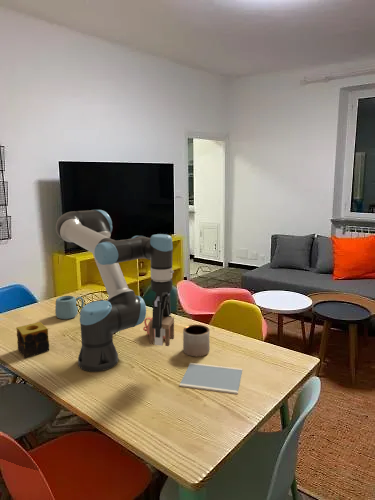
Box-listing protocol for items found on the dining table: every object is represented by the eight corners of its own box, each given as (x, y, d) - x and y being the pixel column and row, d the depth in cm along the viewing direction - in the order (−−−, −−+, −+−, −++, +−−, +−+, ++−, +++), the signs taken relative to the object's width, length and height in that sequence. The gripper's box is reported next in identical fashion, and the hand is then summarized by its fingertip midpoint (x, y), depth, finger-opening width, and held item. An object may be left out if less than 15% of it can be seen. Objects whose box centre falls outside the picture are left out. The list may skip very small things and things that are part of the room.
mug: (79, 309, 204) (78, 291, 202) (88, 315, 196) (87, 296, 194) (52, 316, 195) (51, 297, 193) (60, 322, 186) (59, 303, 184)
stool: (149, 344, 134) (149, 322, 132) (155, 335, 140) (155, 315, 138) (168, 346, 132) (168, 324, 130) (174, 337, 139) (174, 317, 137)
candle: (24, 358, 150) (22, 335, 148) (17, 349, 157) (14, 327, 155) (50, 351, 156) (48, 328, 154) (41, 343, 164) (40, 321, 162)
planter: (207, 358, 149) (207, 336, 147) (180, 356, 151) (180, 333, 149) (211, 346, 159) (211, 325, 158) (186, 344, 162) (186, 323, 160)
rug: (179, 386, 130) (179, 384, 130) (190, 363, 145) (190, 362, 145) (237, 393, 125) (237, 392, 125) (242, 370, 140) (242, 368, 140)
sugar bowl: (170, 342, 163) (170, 320, 162) (139, 340, 166) (139, 318, 164) (176, 331, 175) (176, 310, 173) (147, 329, 178) (146, 308, 176)
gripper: (163, 288, 121) (163, 354, 126) (179, 272, 140) (179, 330, 145) (141, 286, 123) (142, 351, 127) (160, 271, 142) (160, 328, 146)
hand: (162, 340), depth 136 cm, fingers closed on stool, 7 cm apart
